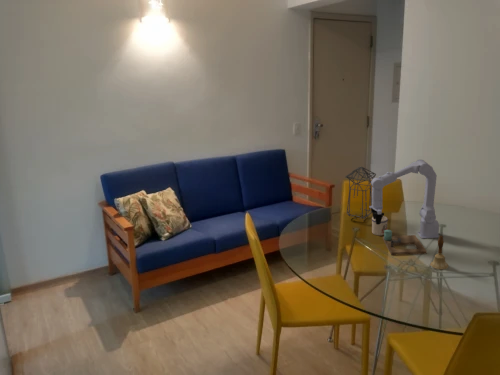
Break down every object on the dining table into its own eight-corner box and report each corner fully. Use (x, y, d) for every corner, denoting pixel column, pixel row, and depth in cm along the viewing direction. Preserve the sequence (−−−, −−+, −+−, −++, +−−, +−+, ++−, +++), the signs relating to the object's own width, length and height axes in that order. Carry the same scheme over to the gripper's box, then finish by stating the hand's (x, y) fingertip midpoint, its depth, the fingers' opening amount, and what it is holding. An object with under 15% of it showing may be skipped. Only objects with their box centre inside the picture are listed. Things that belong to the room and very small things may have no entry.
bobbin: (390, 237, 242) (390, 229, 241) (392, 240, 239) (392, 232, 237) (383, 238, 243) (383, 229, 241) (385, 241, 239) (385, 232, 237)
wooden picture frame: (415, 237, 244) (415, 235, 243) (426, 253, 225) (426, 251, 224) (382, 238, 245) (382, 236, 245) (391, 255, 226) (391, 252, 226)
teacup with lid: (384, 237, 247) (384, 218, 244) (369, 234, 253) (369, 215, 249) (391, 229, 256) (392, 211, 253) (376, 226, 262) (377, 208, 258)
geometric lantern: (352, 213, 285) (353, 162, 274) (375, 217, 276) (377, 165, 265) (342, 221, 273) (343, 168, 262) (366, 226, 264) (368, 171, 253)
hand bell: (427, 262, 216) (428, 233, 211) (443, 260, 216) (445, 231, 211) (435, 270, 208) (437, 240, 203) (451, 268, 209) (454, 238, 204)
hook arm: (400, 248, 233) (400, 238, 231) (400, 249, 232) (401, 239, 230) (390, 248, 233) (390, 238, 232) (391, 249, 232) (391, 239, 230)
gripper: (367, 195, 247) (367, 217, 251) (372, 203, 233) (372, 226, 238) (379, 194, 247) (379, 216, 251) (385, 203, 233) (385, 226, 237)
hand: (376, 221), depth 244 cm, fingers open, 7 cm apart
